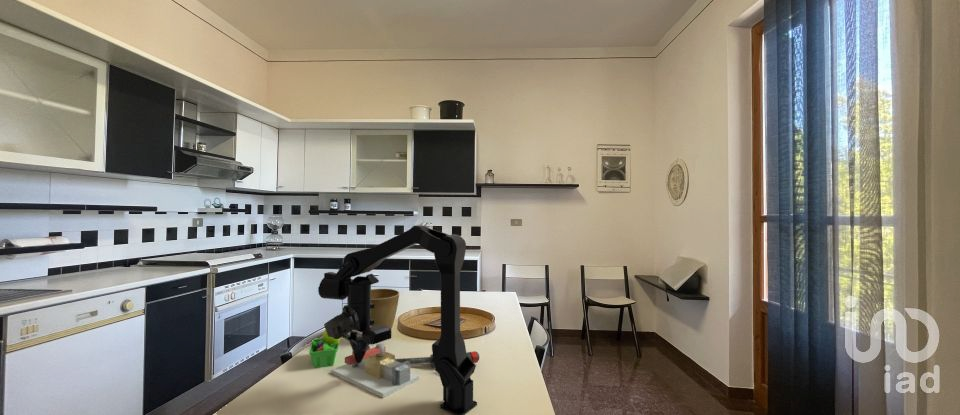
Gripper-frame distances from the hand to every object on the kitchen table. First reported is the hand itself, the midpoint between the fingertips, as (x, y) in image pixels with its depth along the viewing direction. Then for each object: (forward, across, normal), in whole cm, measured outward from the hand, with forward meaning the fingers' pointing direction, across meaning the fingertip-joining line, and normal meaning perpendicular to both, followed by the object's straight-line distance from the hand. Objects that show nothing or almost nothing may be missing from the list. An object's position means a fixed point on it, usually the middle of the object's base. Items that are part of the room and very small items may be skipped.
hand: (358, 362), depth 92 cm
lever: (+1, -2, +4) cm, 4 cm away
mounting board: (+7, -3, +7) cm, 10 cm away
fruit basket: (+7, -23, +5) cm, 24 cm away
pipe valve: (+7, -2, +8) cm, 11 cm away
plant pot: (+6, -26, +26) cm, 37 cm away
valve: (+7, +4, +24) cm, 25 cm away
